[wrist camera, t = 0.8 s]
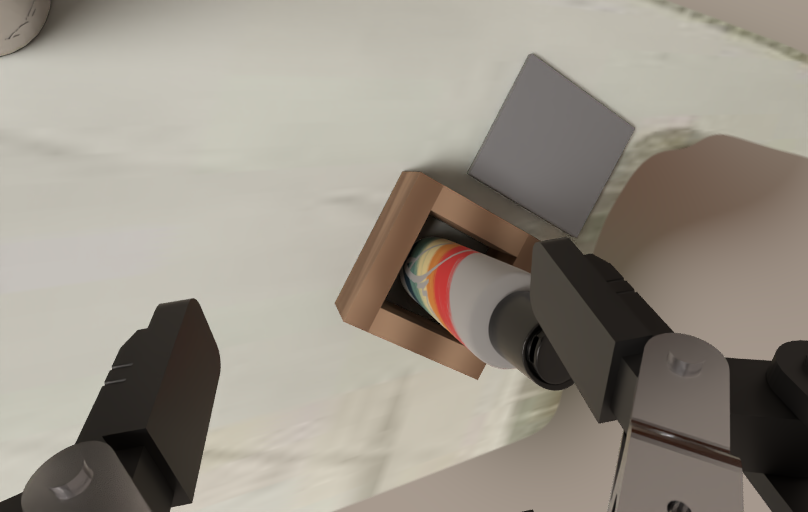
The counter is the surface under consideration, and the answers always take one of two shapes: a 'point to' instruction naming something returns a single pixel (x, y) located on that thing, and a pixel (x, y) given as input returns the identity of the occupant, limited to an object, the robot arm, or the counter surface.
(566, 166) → the rubber mat
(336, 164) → the counter surface
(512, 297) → the lotion bottle
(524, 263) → the bottle holder
